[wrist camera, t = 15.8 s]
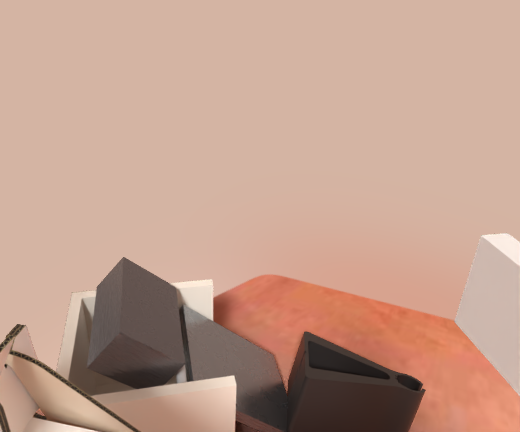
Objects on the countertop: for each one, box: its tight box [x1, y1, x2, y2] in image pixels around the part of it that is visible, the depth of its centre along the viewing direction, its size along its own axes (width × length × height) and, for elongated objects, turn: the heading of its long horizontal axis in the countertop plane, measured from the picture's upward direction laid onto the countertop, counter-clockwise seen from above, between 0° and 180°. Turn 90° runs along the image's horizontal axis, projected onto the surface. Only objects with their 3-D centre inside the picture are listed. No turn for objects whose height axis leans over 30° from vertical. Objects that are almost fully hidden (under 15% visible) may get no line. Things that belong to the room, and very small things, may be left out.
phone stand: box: [286, 332, 425, 432], centre depth 46 cm, size 9×6×12 cm
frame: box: [56, 279, 236, 432], centre depth 43 cm, size 14×14×12 cm
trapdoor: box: [87, 257, 288, 432], centre depth 43 cm, size 21×11×4 cm
